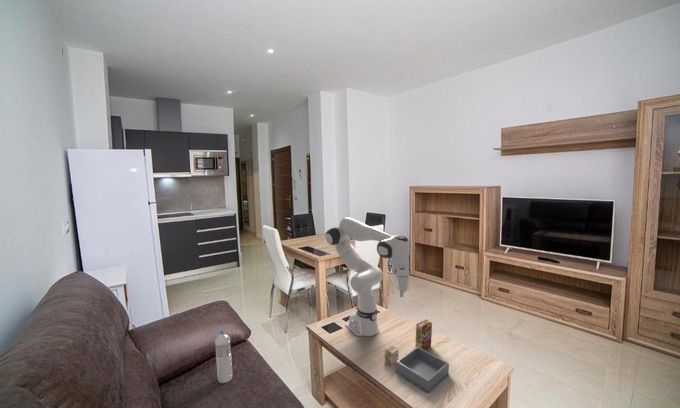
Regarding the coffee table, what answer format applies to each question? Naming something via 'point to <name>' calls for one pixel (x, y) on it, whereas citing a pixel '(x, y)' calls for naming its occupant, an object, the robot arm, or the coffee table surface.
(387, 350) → the beech block
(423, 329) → the candy box
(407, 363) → the bin
